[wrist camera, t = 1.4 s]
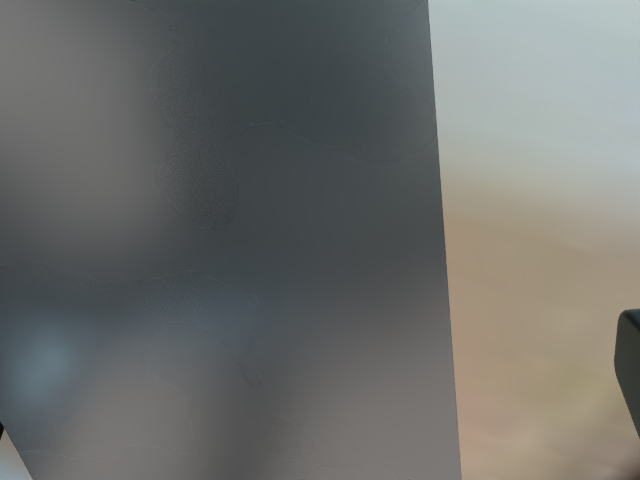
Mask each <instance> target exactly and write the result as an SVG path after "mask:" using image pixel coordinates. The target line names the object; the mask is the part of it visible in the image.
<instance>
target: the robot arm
mask: <svg viewBox="0 0 640 480" xmlns="http://www.w3.org/2000/svg"><path fill="white" fill-rule="evenodd" d="M614 366H615V372H616V376H617V379H618V382H619V385H620V388H621V390H622V393H623V396H624V398H625V401H626V404H627V406H628V409H629V412H630V415H631V417H632V420H633V423H634V425H635V428H636V431H637V433H638V436H639V439H640V309H631V310H625V311H623V312H622V313H621V314H620V316H619V319H618V326H617V336H616V346H615V356H614ZM3 431H4V426H3V424H2V423H1V421H0V439H1V436H2V434H3Z"/></svg>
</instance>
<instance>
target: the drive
mask: <svg viewBox="0 0 640 480" xmlns="http://www.w3.org/2000/svg"><path fill="white" fill-rule="evenodd" d="M0 421H1V423H2V424H3V426H4V428H5V430H6V431H7V433H8V435H9V437H10V439H11V440H12V442H13V444H14V446H15V448H16V449H17V451H18V453H19V455H20V457H21V458H22V460H23V462H24V464H25V466H26V467H27V469H28V471H29V473H30V474H31V476H32V478H33V480H462V478H461V463H460V449H459V435H458V421H457V407H456V393H455V379H454V364H453V350H452V336H451V322H450V308H449V294H448V279H447V265H446V251H445V237H444V223H443V209H442V194H441V180H440V166H439V152H438V138H437V124H436V109H435V95H434V81H433V67H432V53H431V39H430V24H429V10H428V0H0Z"/></svg>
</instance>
